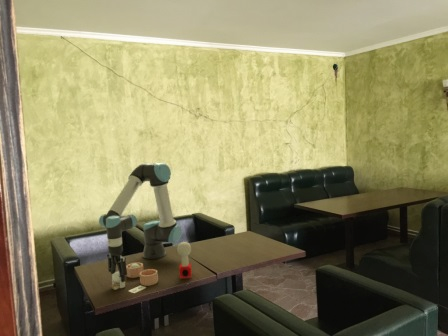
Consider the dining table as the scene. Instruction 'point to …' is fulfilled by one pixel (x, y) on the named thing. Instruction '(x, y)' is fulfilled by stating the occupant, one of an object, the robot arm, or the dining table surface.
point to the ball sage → (134, 266)
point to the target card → (137, 289)
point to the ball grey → (116, 277)
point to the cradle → (116, 285)
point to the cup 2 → (148, 277)
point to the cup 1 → (134, 270)
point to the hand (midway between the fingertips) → (118, 285)
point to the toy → (184, 260)
